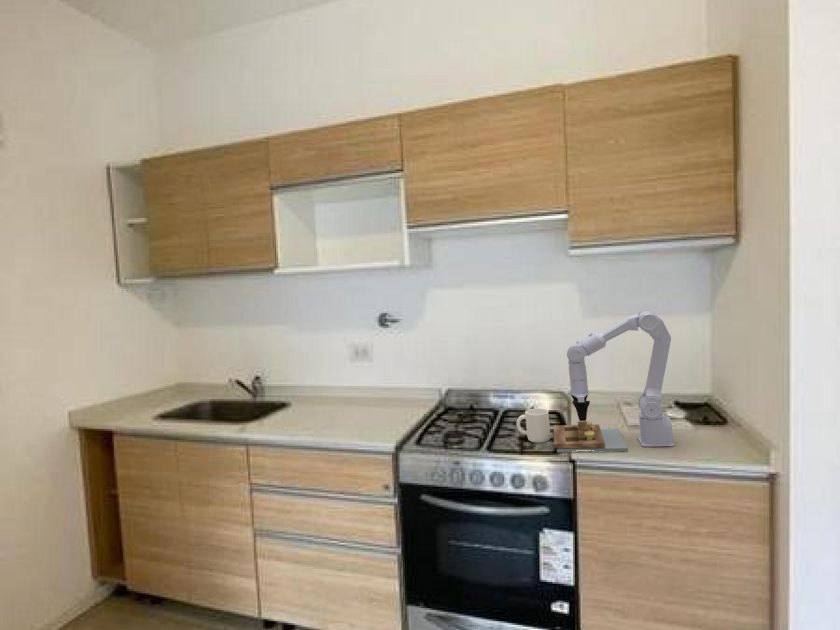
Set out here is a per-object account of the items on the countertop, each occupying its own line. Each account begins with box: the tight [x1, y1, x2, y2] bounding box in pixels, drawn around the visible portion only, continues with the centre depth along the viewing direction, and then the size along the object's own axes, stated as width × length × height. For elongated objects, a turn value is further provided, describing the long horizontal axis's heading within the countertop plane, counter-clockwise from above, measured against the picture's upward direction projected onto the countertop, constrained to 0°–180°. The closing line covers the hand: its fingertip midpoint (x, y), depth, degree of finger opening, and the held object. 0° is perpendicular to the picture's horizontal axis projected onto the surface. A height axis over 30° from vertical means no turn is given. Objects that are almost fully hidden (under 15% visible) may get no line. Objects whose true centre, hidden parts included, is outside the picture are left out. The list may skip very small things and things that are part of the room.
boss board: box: [556, 420, 629, 453], centre depth 166 cm, size 22×20×5 cm
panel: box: [553, 420, 605, 449], centre depth 167 cm, size 16×20×5 cm
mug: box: [516, 408, 551, 444], centre depth 175 cm, size 12×8×10 cm
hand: (582, 417), depth 166 cm, fingers open, 7 cm apart
